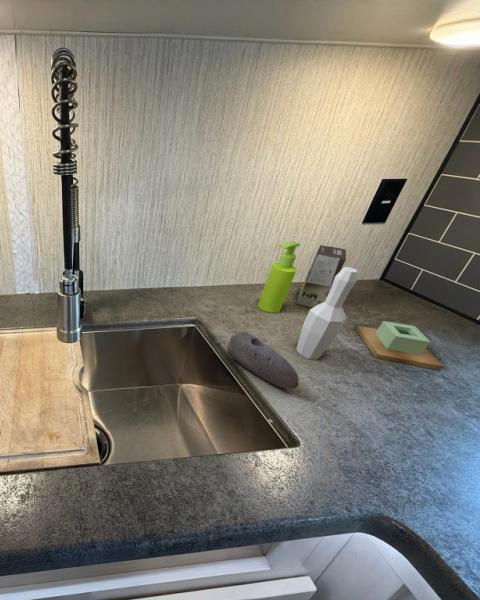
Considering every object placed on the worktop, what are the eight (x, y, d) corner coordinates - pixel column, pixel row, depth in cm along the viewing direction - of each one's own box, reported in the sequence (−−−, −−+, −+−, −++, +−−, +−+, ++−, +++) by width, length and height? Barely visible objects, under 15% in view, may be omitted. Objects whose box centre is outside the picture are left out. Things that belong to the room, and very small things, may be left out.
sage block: (406, 339, 77) (415, 326, 75) (420, 355, 72) (430, 341, 70) (374, 333, 79) (382, 320, 77) (386, 349, 74) (395, 335, 71)
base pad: (411, 338, 79) (421, 324, 77) (440, 370, 69) (452, 355, 67) (355, 329, 82) (363, 315, 80) (375, 358, 73) (385, 343, 70)
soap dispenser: (250, 305, 92) (272, 241, 82) (267, 300, 94) (290, 237, 84) (267, 315, 88) (293, 249, 77) (284, 310, 90) (312, 245, 79)
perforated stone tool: (299, 391, 64) (313, 366, 60) (284, 401, 62) (297, 375, 58) (236, 349, 75) (244, 326, 71) (221, 356, 73) (229, 333, 69)
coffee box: (321, 310, 90) (347, 259, 82) (296, 303, 93) (318, 253, 85) (323, 297, 96) (346, 249, 88) (299, 291, 99) (319, 244, 91)
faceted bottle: (306, 342, 77) (346, 261, 66) (330, 359, 72) (378, 274, 61) (286, 347, 76) (323, 265, 64) (309, 364, 71) (354, 278, 59)
